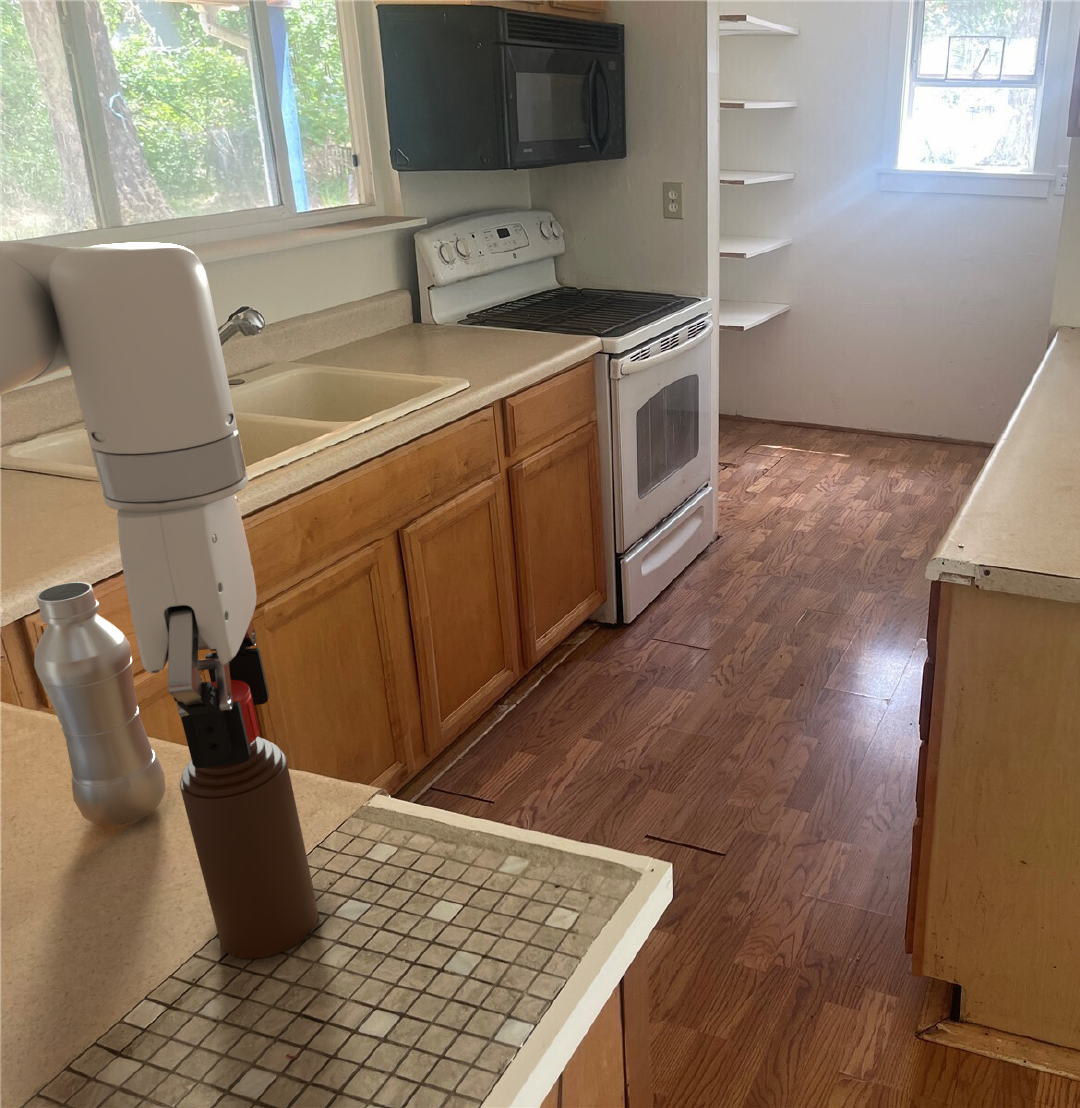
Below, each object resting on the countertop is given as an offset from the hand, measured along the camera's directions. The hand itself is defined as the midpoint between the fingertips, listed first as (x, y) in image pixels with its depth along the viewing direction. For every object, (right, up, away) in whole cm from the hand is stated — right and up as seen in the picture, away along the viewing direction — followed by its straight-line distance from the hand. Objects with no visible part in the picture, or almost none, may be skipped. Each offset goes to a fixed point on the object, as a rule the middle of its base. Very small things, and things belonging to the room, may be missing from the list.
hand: (233, 730), depth 67 cm
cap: (-1, -1, 0) cm, 1 cm away
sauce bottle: (-1, -15, +6) cm, 16 cm away
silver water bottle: (-18, -10, +18) cm, 27 cm away
